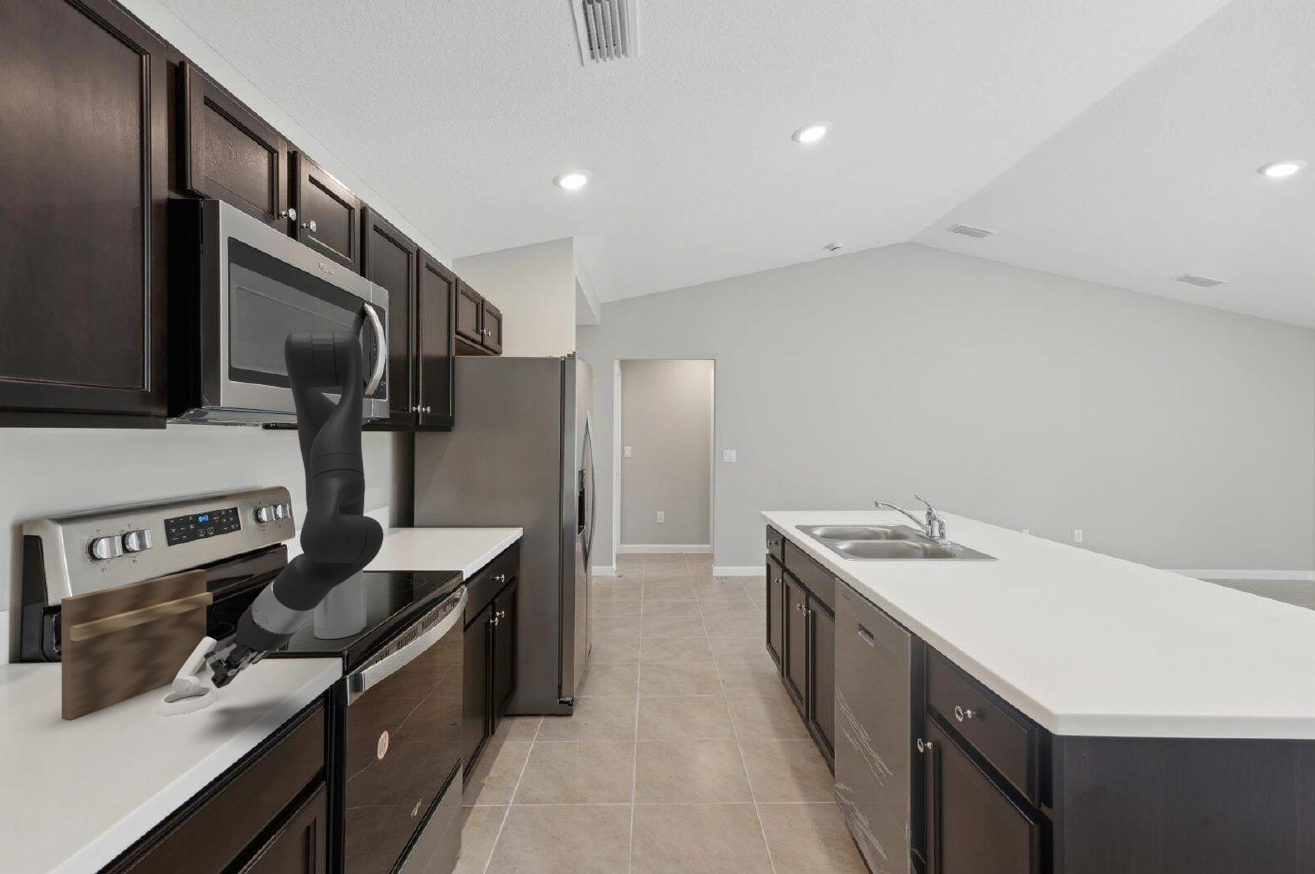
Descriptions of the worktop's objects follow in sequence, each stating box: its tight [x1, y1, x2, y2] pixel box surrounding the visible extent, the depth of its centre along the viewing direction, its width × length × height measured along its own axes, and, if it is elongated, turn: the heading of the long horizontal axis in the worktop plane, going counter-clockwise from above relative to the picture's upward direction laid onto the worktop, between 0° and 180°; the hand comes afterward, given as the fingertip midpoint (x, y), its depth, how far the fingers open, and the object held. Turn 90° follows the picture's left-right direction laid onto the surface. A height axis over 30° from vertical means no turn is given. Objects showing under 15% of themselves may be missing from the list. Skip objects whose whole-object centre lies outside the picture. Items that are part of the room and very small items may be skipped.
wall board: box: [60, 568, 214, 721], centre depth 99 cm, size 20×4×18 cm, turn 163°
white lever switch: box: [155, 636, 218, 717], centre depth 96 cm, size 8×12×7 cm
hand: (218, 682), depth 93 cm, fingers closed
